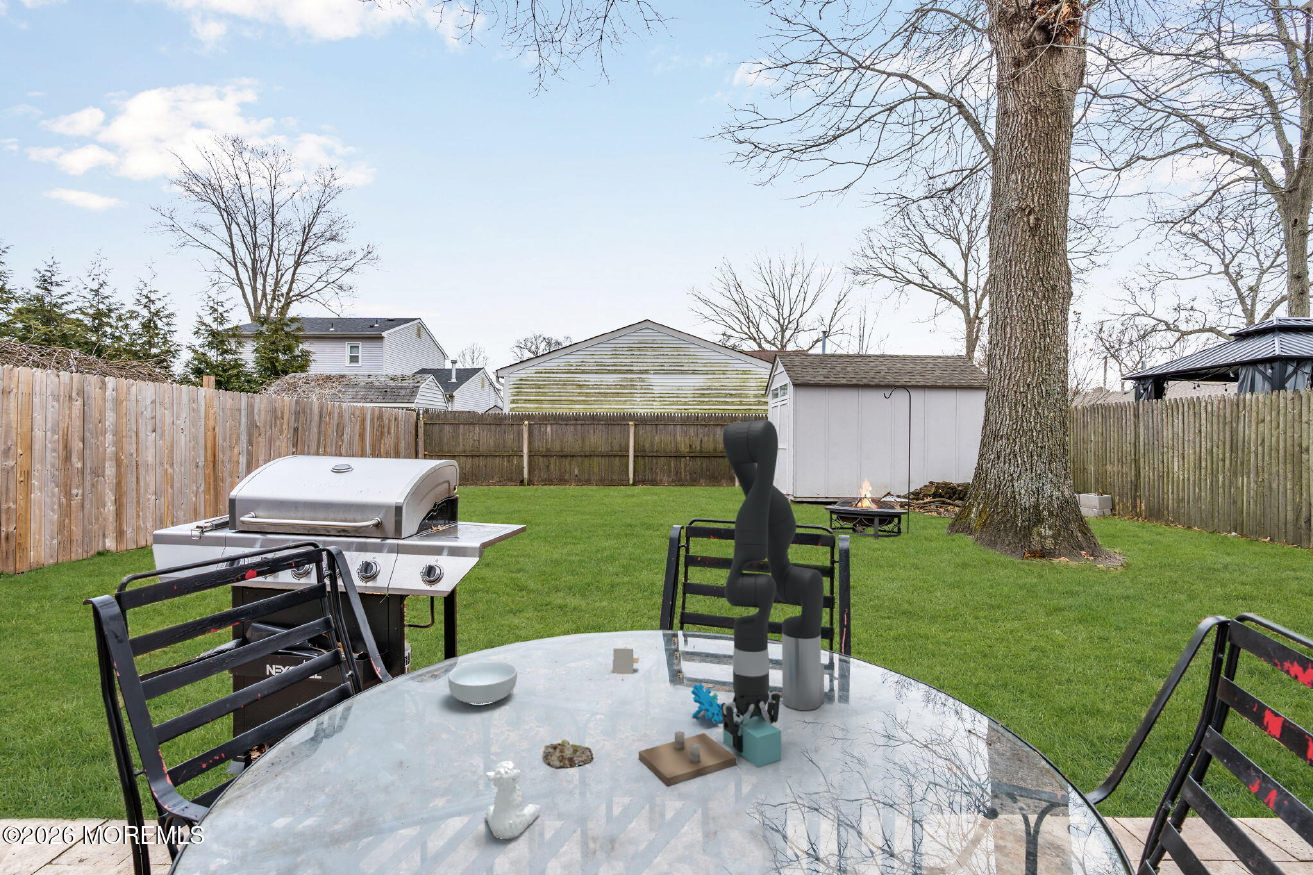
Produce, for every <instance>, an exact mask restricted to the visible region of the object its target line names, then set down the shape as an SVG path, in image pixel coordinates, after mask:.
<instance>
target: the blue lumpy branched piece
mask: <svg viewBox="0 0 1313 875" xmlns="http://www.w3.org/2000/svg"><path fill="white" fill-rule="evenodd" d="M704 689H705V686H704V685H703V684H702V683H700V684H699V685H698V684H694V685H693V686H692V690H691V691H690V693H691V695H693V698H692V699H693V702H694V703H696V704H698V706H697V708H698V709H696V711H694V712H693V713H692V714H691V716H692V718H694V719H696V718H698V716H699V715H700V714H701V713H702V712H706V713H705V714H704V717H705V718H706V719H707V720H710V719H711V720H712V722H713V723H714V724H717V723H720V724H721V723H723V718H722V710H721V704H722V703H719V702H718V700H719V698H718V697H719V695H718V694H717V692H714V693H713V694H712V695H710V694H711V693H712V690H711V689H710V688H709V687H707V688H706V689H705V690H704Z"/></svg>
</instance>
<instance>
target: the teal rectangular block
mask: <svg viewBox="0 0 1313 875" xmlns="http://www.w3.org/2000/svg"><path fill="white" fill-rule="evenodd" d="M733 716H734V714H733ZM740 717H741V718H742V719H743V716H741V715H740ZM722 726H723V725H722ZM738 726H739V724H738ZM722 730H723V731H722V732H723V733H722V737H723V738H722V739H723V744H725V745H727V746H728V747H729V748H731V749H732V750H733V751H735V752H736V753H737V754H739V755H741V756H742V757H743V758H744V759H746V760H747V761H748V762H750V763H751V764H752V765H754V766H755V767H757V768H760V767H763V766H766V765H769V764H773V763H775V762H777V761H781V760H782V730H781V729H779V728H778V727H776V726H774V725H773V724H770V723H768V722H764V721H763V719H762V718H758V717H752V718H751V719H749V721H748V724H747V725H746V726H745V727H744V728H743V733H742V735H743V752H741V753H739V752H737V751H736V750H735V749H734V748H733V735H731V734H730V733H729V732H727V731H725V730H724V726H723V727H722Z"/></svg>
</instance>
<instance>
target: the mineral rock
mask: <svg viewBox="0 0 1313 875" xmlns="http://www.w3.org/2000/svg"><path fill="white" fill-rule="evenodd" d="M543 749H544V750H543V751H542V752H543V753H542V756H543V761H544V763H545V764H546V765H548V766H551V767H552V768H553V769H557V768H559V769H560V768H564V769H565V768H567V767H568V768H571V767H577V766H576V765H582V766H584V765H585V764H590V762H591V761H590V760H592V761H593V760H594V753H593V752H592V749H591V748H590V747H589V746H583V745H581V744H573V743H572V744H571V743H570V741H568V740H567V739H563V740H561V742H557V743H550V744H545V745H544V748H543ZM584 763H585V764H584Z"/></svg>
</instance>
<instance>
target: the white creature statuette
mask: <svg viewBox="0 0 1313 875" xmlns="http://www.w3.org/2000/svg"><path fill="white" fill-rule="evenodd" d="M520 775H521V770H520V769H519V767H518V766H517V765H516V764H514V763H513V761H509V760H503V761H499V762H498V764H496V766H495V767H494V769H493V770H492V771H488V772H486V777H487V781H489V782H490V783H491V782H492V785H493V786H494V787H496V788H497V791H496V794H495V796H494V802H493V803H494V804H492V805H488V807H487V808H486V812H485V817H486V822H487V821H488V822H487V823H488V826H489V828H490V830H491V832H492V834H493V836H495V838H497V837H498V838H497V839H499V838H502V839H501V840H510V839H509V838H513V839H514V837H515V838H518V837H519V836H520V835H522V832H524V831H525V830H526V829H527V828H528V826H530V825H531V824H532V823H533V821H535V820H536V819H537V817H538V816H539V815H540V813H541V810H542V808H541V806H540V805H539V804H535V803H533V804H532V803H528V805H527V806H525V807H524V808H523V807H522V804H523V803H524V800H523V792H522V790H521V787H519V786H518V783H519V780H520Z"/></svg>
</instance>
